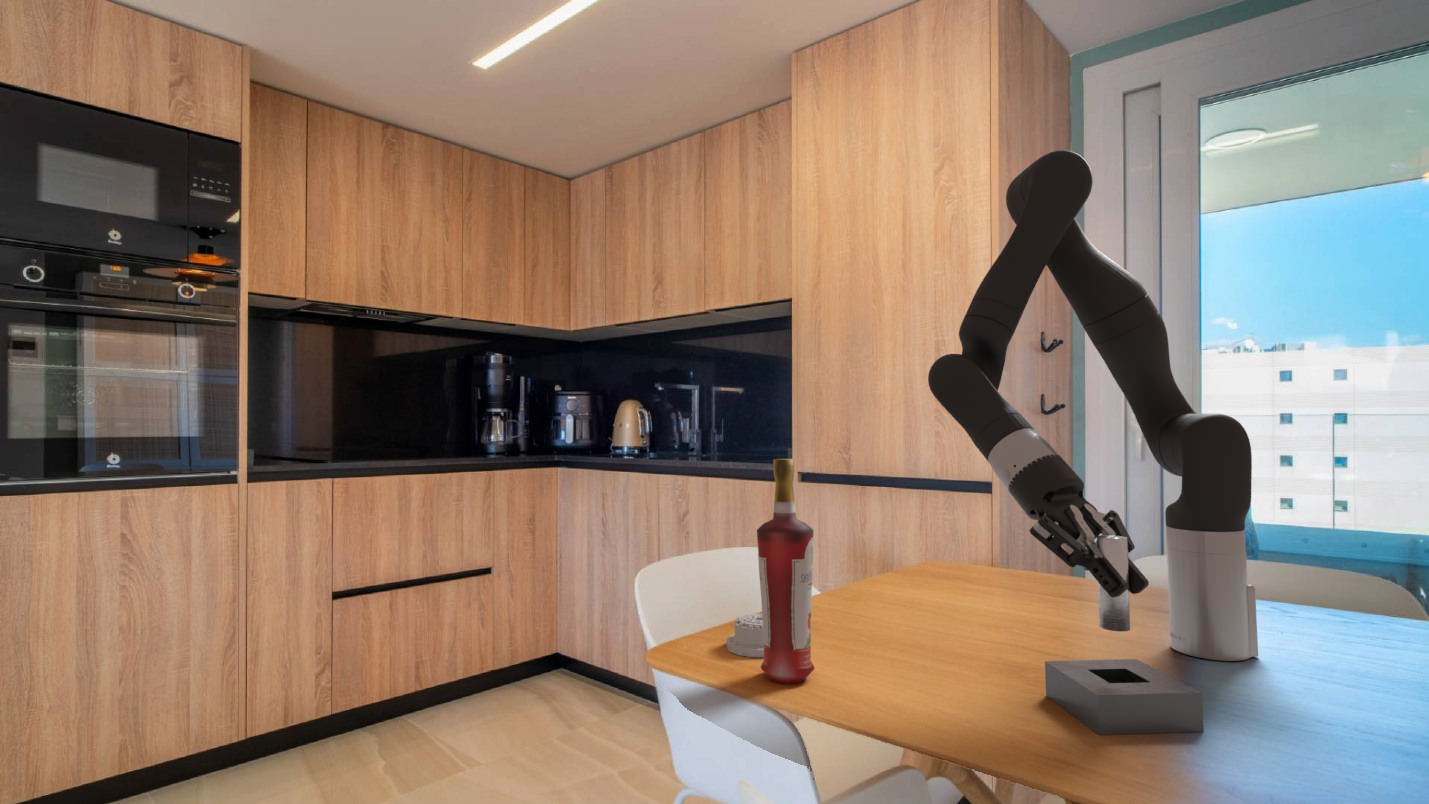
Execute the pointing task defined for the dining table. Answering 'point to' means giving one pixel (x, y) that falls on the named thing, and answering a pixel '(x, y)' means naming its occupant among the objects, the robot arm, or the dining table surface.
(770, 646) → the liquor
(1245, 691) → the dining table surface
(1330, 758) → the dining table surface
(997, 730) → the dining table surface
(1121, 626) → the steel pin
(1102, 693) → the square hole block
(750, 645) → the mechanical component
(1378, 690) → the dining table surface
